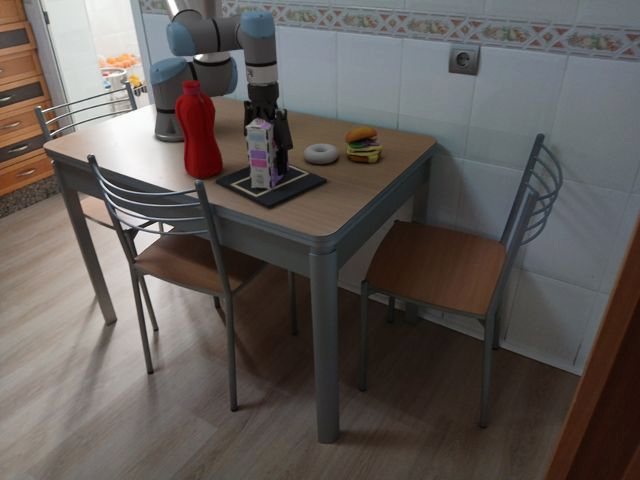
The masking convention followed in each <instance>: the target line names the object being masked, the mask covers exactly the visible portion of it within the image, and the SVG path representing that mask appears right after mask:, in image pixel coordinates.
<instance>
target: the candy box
mask: <svg viewBox="0 0 640 480" xmlns="http://www.w3.org/2000/svg"><path fill="white" fill-rule="evenodd" d="M272 121H275V119H274V120H271V122H272ZM273 125H274V123H268V122H265V120H263V119H260V118H258V117H257V119H255V120H253V121H252V122H251V123H250V124H249V125H248V126H246V127H245V131H246V137H245V140H246V149H247V160H248V167H249V171H250V181H251V188H257V189H265V190H272V189H273V188H274V187H275V185H276V184H277V183H278V182H279V181H280V179H281V178H282V177H283V176H284V175H281V176H278V172H277V159H276V151H278V148H277V146H276V143H275V141H274V135H273ZM281 147H282V145H281ZM287 155H288V156H289V150H288V151H287ZM289 161H290V160H289V159H288V162H287V171H288V170H289V164H290V162H289Z"/></svg>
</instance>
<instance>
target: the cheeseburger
mask: <svg viewBox="0 0 640 480" xmlns="http://www.w3.org/2000/svg"><path fill="white" fill-rule="evenodd" d="M377 135H378V133H377V131H376V129H375V128H374V127H369V126H361V127H358V128H354V129H352V130H351V131H348V133H347V134H346V135H345V141H344V142H345V143H346V144H347V149H346V154H347V156H348V157H349V159H350V160H351V161H355V162H362V163H369V164H374V163H377V161H378V159H380V157H381V155H382V151H383V146H382V144H381V143H380V142H379V141H378V140H379V139H378V137H377Z"/></svg>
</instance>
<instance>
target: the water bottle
mask: <svg viewBox="0 0 640 480" xmlns="http://www.w3.org/2000/svg"><path fill="white" fill-rule="evenodd" d="M182 85H183V91H184V94H183V95H182V96H180V97H179V98H178V99H177V101H176V105H175V113H176V117H177V120H178V122H179V124H180V127H181V129H182V131H183V134H184V139H185V141H184V148H183V164H184V169H185V171H186V173H187V174H188V175H189V176H192V177H194V178H197V179H202V180H203V179H208V178H210V177H212V176H215V175H217V174H220V173H221V172H222V171H223V169H224V161H223V156H222V153H221V150H220V148H219V145H218V142H217V139H216V137H215V136H216V135H215V124H216V123H215V121H216V112H217V111H216V107H215V104H214V102H213V99H212V97H209V96H207V95H206V94H204V93H202V92H201V89H200V82H199V81H196V80H191V81H186V82H183V83H182Z"/></svg>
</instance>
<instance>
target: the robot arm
mask: <svg viewBox="0 0 640 480" xmlns="http://www.w3.org/2000/svg"><path fill="white" fill-rule="evenodd" d="M161 1H162V3H163V5H164V8H165V11H166V13H167V16H168V19H169V21H170V22H169V23H168V24H167V25H166V27H165V33H166V39H167V43H168V48H169V51H170V52H171V54H172V55H173V56H174V57H170V58H169V57H168V58H165V59H161V60H159V61H156V62H154V63H152V64H151V66H150V67H149V71H148V73H149V83H150V84H151V90H152V94H153V99H154V104H155V109H156V118H155V125H154V135H155V138H156V139H157V140H158V141H161V142H166V143H167V142H168V143H179V142H185V139H184V134H183V131H182V129H181V127H180V124H179V122H178V120H177V117H176V113H175V105H176V101H177V99H178V98H179V97H180V96H182V95H183V94H184V91H183V85H182V83H183V82H186V81H191V80H196V81H199V82H200V89H201V92H202V93H204V94H206V95H207V96H209V97H210V98H216V97H224V96H227V95H231V94H233V93H235V91H236V89H237V87H238V80H239V71H238V65H237V62H236V59H235V58H234V57H233V56H231V53H230V52H232V51H242V50H243V59H244V65H245V74H246V75H245V77H246V82H248V83H247V85H246V88H247V98H248V99H246V100H244V101H243V108H244V116H243V117H244V118H243V137H245V138H246V131H245V127H246V126H248V125H249V124H250V123H251V122H252V121H253V120H255V119H257V117H258V118H260V119H263V120H265V122H268V123H274V125H273V135H274V141H275V143H276V146H277V148H278V151H276V159H277V172H278V176H281V175H284V174H286V173H288V172H287V162H288V160H289V154H288V155H287V151H288V152H289V151H290V150H293V149H294V144H293V139H292V135H291V134H292V133H291V130H290V125H289V121H288V110H287V109H286V108H283V109H282V108H280V107H279V106H278V100H279V98H280V85H279V82H278V81H279V68H278V59H277V58H278V55H277V39H276V38H277V37H276V26H275V25H276V24H275V18H274V14H273V13H272V12H271V11H269V10H248V11H244V12H242V13H235V14H232V15H230V16H227V17H223V4H222V3H223V2H222V0H161ZM185 57H192V60H190V61H187V59H186V58H185ZM274 119H275V121H272V122H271V120H274ZM281 145H282V147H281Z"/></svg>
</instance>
